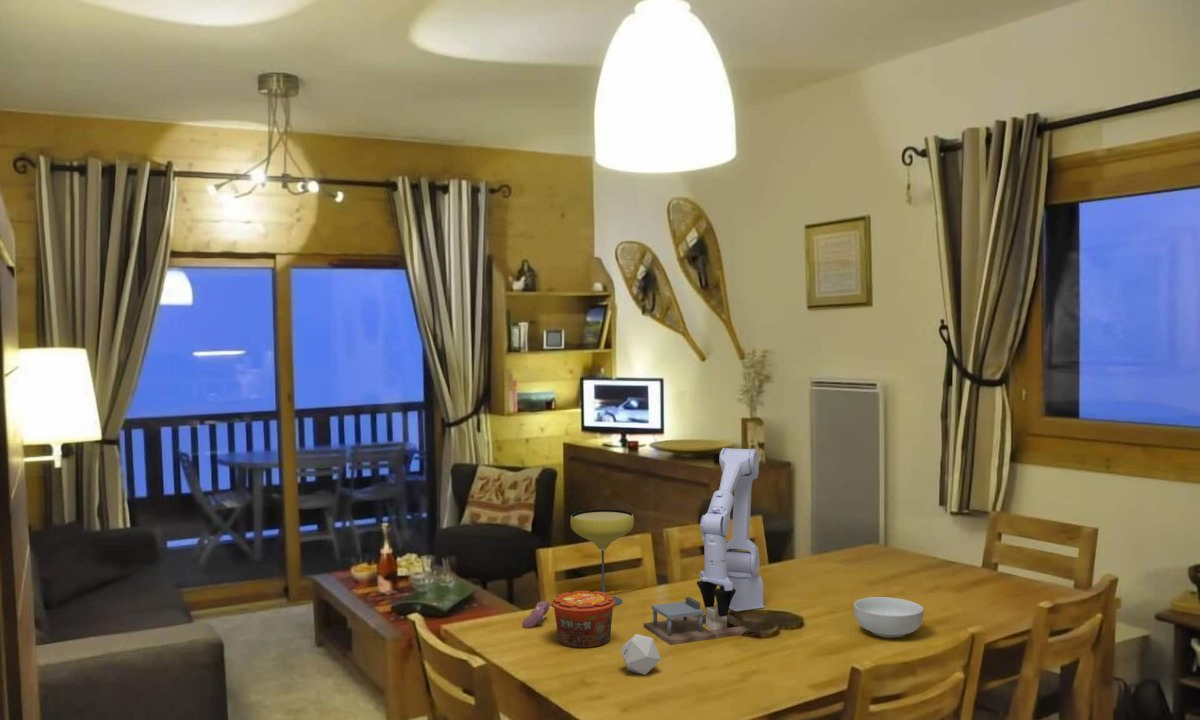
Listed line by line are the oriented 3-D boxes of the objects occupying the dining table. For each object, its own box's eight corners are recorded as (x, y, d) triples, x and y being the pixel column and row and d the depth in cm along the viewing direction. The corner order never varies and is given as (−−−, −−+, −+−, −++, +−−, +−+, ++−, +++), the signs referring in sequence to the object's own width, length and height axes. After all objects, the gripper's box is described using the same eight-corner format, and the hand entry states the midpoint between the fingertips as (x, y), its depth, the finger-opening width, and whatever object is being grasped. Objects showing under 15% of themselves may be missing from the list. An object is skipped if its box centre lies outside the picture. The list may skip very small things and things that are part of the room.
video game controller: (535, 635, 254) (546, 611, 254) (520, 626, 255) (531, 603, 254) (544, 623, 264) (555, 601, 263) (530, 615, 265) (540, 593, 264)
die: (627, 665, 227) (609, 639, 222) (659, 646, 227) (642, 619, 223) (638, 689, 220) (620, 662, 215) (671, 669, 220) (654, 642, 216)
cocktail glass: (561, 607, 274) (560, 518, 273) (586, 591, 291) (585, 507, 290) (621, 613, 267) (620, 522, 266) (644, 596, 284) (642, 510, 283)
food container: (594, 654, 233) (593, 610, 233) (539, 644, 242) (538, 601, 241) (628, 636, 247) (627, 594, 246) (575, 627, 255) (574, 586, 255)
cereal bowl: (887, 648, 235) (886, 618, 234) (840, 630, 249) (839, 602, 249) (938, 636, 242) (938, 608, 242) (890, 619, 257) (889, 593, 257)
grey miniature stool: (686, 619, 255) (686, 595, 255) (704, 629, 246) (703, 604, 246) (651, 624, 252) (651, 599, 252) (668, 634, 243) (667, 609, 242)
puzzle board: (725, 616, 263) (725, 612, 263) (755, 632, 248) (755, 628, 248) (643, 627, 254) (643, 623, 254) (670, 644, 239) (670, 640, 239)
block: (719, 624, 256) (719, 605, 255) (727, 628, 252) (726, 609, 252) (706, 626, 254) (705, 607, 254) (713, 630, 250) (713, 611, 250)
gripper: (689, 555, 258) (689, 606, 258) (714, 567, 244) (715, 621, 245) (712, 553, 260) (713, 603, 261) (739, 564, 247) (740, 617, 247)
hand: (716, 612), depth 253 cm, fingers open, 7 cm apart
